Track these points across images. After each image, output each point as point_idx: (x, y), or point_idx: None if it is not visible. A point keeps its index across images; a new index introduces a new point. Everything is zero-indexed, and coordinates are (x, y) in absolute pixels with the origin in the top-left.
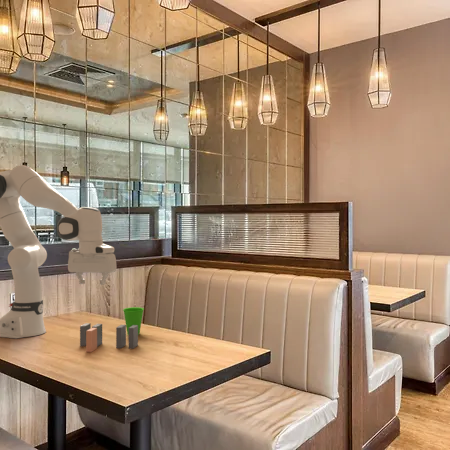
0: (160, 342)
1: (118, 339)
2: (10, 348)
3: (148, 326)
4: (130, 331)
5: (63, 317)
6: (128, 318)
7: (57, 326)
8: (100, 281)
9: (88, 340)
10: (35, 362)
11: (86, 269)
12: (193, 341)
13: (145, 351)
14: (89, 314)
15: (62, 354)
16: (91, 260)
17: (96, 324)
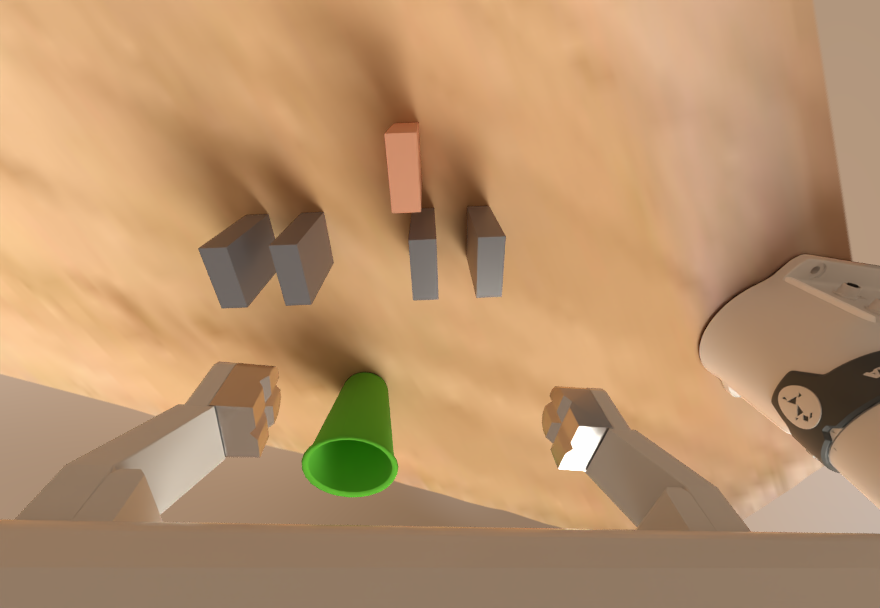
0: (204, 318)
1: (302, 224)
2: (797, 104)
3: None
4: (224, 241)
5: None
6: (359, 415)
7: (675, 420)
8: (244, 389)
9: (404, 127)
10: None
11: (525, 605)
12: (98, 351)
13: (169, 187)
14: None
15: (510, 53)
16: None
17: (435, 283)
